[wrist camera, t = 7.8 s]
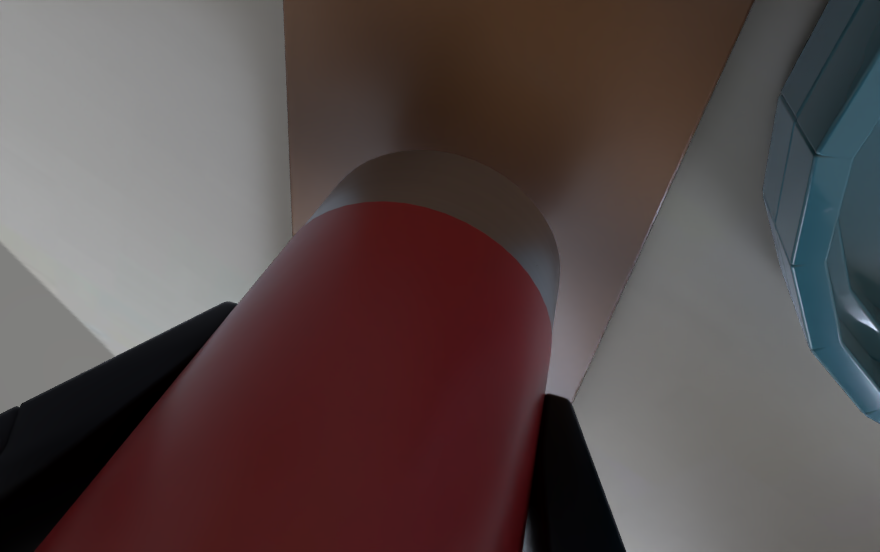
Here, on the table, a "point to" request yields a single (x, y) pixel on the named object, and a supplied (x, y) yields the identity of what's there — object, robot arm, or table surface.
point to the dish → (833, 195)
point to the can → (355, 385)
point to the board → (516, 116)
